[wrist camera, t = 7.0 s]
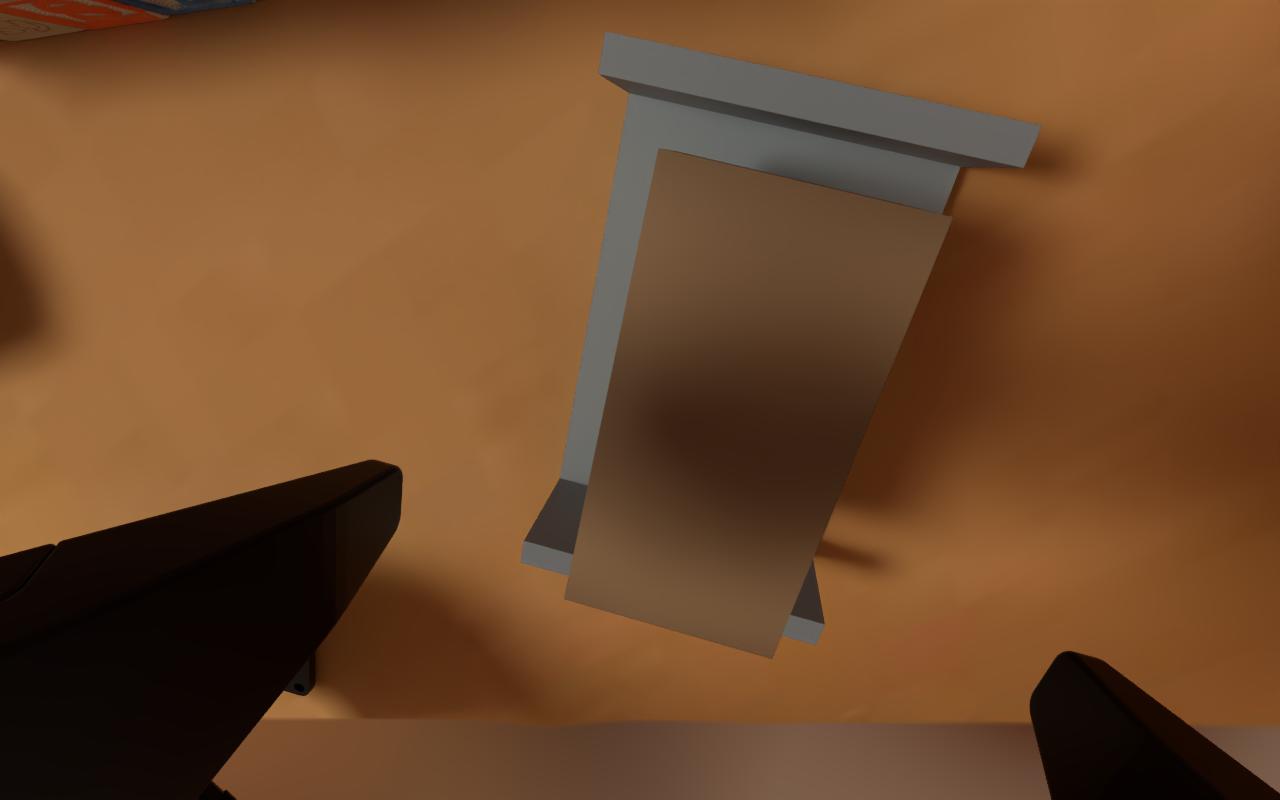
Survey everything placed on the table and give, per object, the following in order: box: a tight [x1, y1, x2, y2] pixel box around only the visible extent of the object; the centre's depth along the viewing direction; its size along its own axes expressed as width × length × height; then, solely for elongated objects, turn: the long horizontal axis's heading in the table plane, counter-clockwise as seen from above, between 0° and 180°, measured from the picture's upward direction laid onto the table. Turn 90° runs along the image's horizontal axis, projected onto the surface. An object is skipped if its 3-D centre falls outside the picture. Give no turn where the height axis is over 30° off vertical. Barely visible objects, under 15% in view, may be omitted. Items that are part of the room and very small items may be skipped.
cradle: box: [521, 31, 1042, 645], centre depth 17 cm, size 14×9×4 cm, turn 168°
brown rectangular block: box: [564, 148, 953, 659], centre depth 14 cm, size 10×5×4 cm, turn 168°
